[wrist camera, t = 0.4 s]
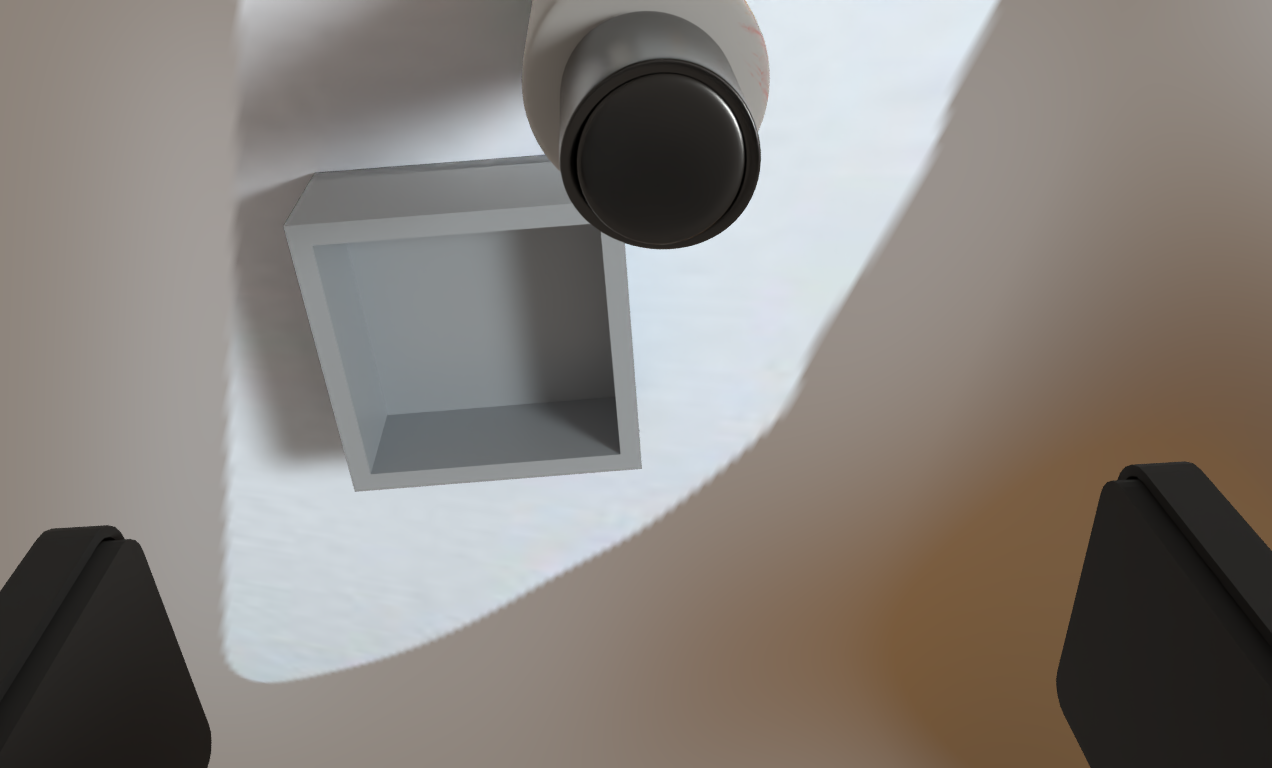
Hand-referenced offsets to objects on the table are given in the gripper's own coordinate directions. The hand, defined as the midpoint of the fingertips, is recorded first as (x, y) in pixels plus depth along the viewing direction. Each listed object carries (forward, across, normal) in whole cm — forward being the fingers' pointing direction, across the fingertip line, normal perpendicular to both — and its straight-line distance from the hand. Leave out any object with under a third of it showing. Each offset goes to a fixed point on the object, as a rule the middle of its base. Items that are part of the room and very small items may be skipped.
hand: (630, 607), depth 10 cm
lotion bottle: (+31, -1, -1) cm, 31 cm away
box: (+31, +5, +12) cm, 33 cm away
